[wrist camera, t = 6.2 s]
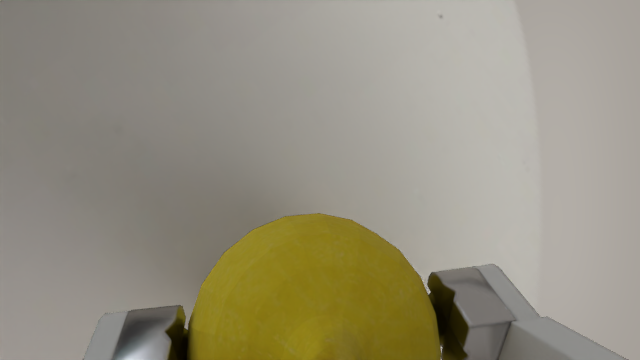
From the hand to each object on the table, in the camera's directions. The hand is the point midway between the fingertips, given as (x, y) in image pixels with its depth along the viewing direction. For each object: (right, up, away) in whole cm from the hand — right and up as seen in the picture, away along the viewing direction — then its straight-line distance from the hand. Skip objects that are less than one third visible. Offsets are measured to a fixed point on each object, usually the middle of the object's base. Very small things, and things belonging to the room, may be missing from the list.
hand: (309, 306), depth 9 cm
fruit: (0, -2, +4) cm, 5 cm away
